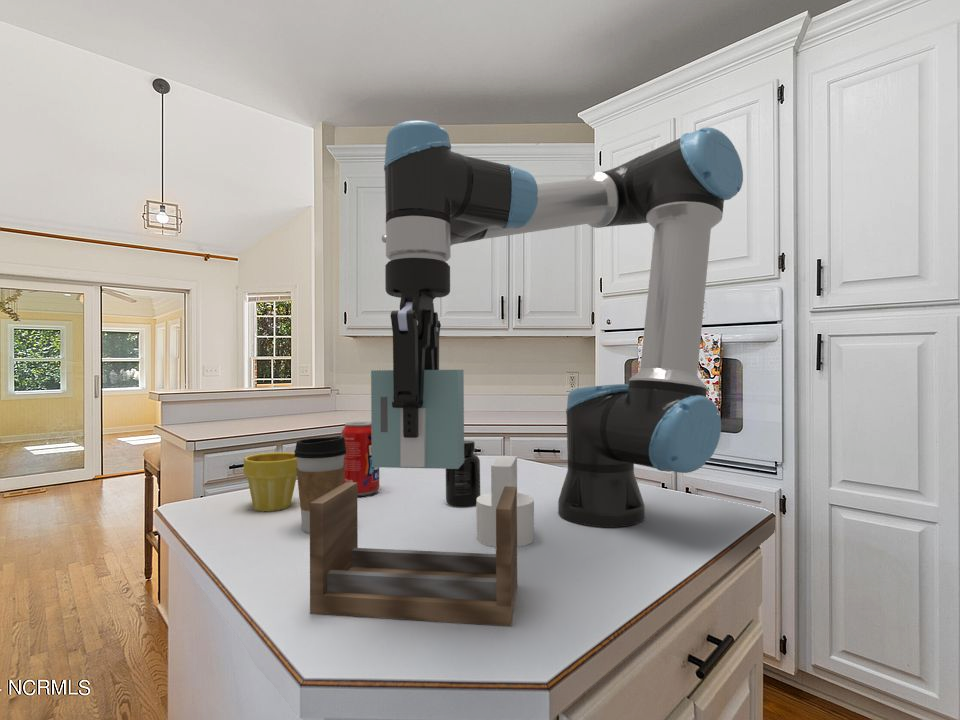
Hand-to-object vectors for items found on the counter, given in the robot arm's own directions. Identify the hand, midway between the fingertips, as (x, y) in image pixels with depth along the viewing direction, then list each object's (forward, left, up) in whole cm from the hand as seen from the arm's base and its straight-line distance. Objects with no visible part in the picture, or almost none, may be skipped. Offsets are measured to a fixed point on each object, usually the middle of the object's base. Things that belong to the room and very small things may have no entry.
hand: (418, 461), depth 59 cm
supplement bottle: (+2, -41, -16) cm, 44 cm away
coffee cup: (+23, -23, -16) cm, 36 cm away
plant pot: (+38, -34, -16) cm, 53 cm away
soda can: (+25, -46, -16) cm, 55 cm away
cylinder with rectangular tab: (-8, -22, -16) cm, 28 cm away
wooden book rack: (0, 0, -16) cm, 16 cm away
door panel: (0, 0, 0) cm, 0 cm away
